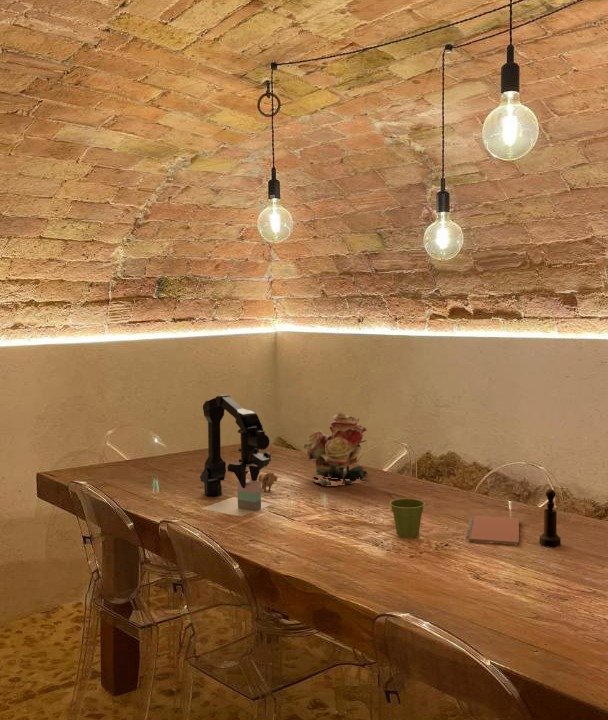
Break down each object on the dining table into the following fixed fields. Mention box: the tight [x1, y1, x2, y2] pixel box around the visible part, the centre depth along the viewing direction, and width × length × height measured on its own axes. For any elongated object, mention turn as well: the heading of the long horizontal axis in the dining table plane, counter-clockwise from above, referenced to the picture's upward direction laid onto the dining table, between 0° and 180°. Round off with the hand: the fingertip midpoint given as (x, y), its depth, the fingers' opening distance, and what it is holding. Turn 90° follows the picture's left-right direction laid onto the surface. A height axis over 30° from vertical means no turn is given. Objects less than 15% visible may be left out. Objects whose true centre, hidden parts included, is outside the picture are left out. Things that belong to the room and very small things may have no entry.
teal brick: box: [237, 489, 262, 502], centre depth 290 cm, size 8×4×4 cm, turn 56°
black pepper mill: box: [539, 488, 561, 548], centre depth 245 cm, size 7×6×18 cm
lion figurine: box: [257, 471, 279, 493], centre depth 319 cm, size 15×5×9 cm, turn 34°
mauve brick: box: [237, 478, 262, 493], centre depth 289 cm, size 8×4×4 cm, turn 56°
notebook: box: [465, 515, 520, 545], centre depth 260 cm, size 27×17×2 cm, turn 164°
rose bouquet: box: [303, 412, 369, 487], centre depth 334 cm, size 26×29×30 cm
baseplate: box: [200, 496, 273, 517], centre depth 293 cm, size 20×20×4 cm
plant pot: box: [389, 497, 426, 539], centre depth 256 cm, size 12×12×11 cm
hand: (249, 486), depth 289 cm, fingers open, 6 cm apart
